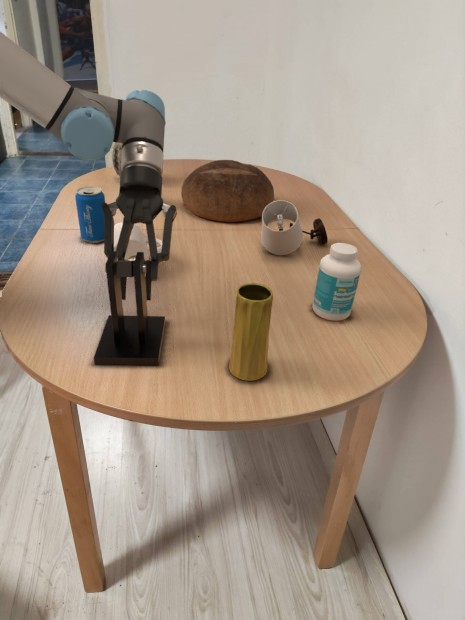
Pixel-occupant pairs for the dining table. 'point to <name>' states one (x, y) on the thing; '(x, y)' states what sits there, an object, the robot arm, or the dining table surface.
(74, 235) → the dining table surface
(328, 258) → the pill bottle
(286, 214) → the light fixture
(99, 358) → the stand
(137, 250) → the mug
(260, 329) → the vase
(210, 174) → the bread
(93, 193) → the beverage can
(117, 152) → the decorative egg
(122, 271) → the lever
